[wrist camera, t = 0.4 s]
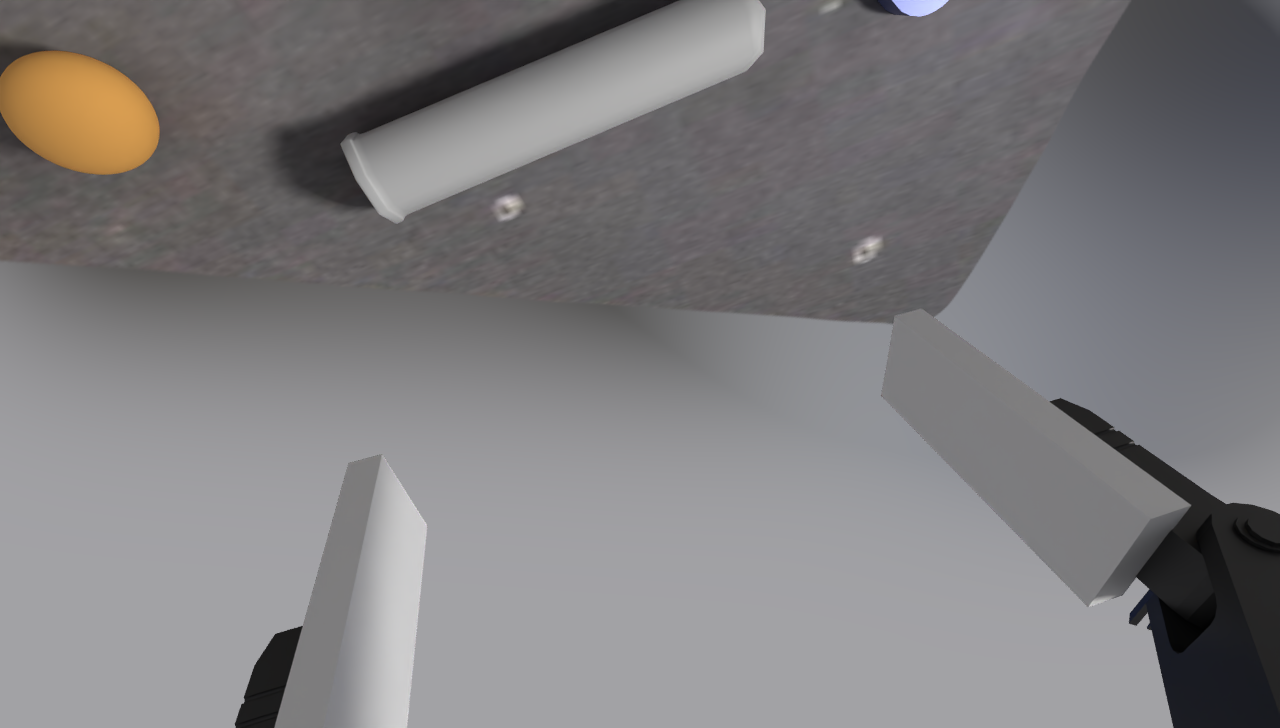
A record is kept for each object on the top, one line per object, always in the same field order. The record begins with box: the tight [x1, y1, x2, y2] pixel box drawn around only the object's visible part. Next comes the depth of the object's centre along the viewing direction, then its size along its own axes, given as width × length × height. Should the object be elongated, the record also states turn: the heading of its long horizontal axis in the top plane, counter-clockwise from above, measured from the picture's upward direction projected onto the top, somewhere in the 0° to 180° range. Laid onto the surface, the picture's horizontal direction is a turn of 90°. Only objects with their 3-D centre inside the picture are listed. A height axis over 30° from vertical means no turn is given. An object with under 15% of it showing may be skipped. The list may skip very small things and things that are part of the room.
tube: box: [340, 0, 766, 224], centre depth 31 cm, size 5×5×25 cm
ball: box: [0, 51, 160, 175], centre depth 26 cm, size 6×6×6 cm
